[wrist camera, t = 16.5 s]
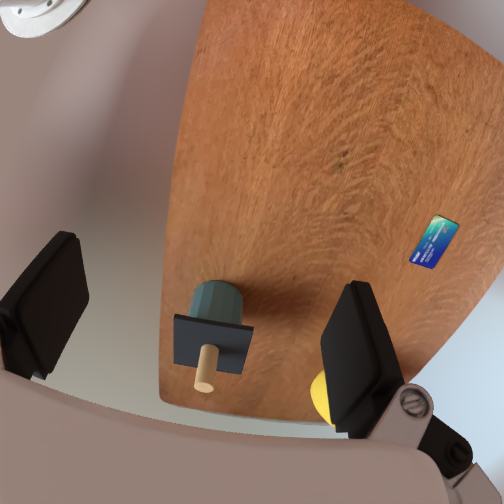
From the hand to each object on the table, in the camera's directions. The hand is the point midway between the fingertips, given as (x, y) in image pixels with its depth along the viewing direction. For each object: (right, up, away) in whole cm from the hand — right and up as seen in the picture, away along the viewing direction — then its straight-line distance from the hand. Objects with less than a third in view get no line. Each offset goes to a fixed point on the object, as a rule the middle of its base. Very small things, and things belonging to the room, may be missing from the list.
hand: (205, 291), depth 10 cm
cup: (-4, -6, +38) cm, 39 cm away
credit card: (+29, +3, +31) cm, 42 cm away
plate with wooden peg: (-4, -11, +31) cm, 33 cm away
